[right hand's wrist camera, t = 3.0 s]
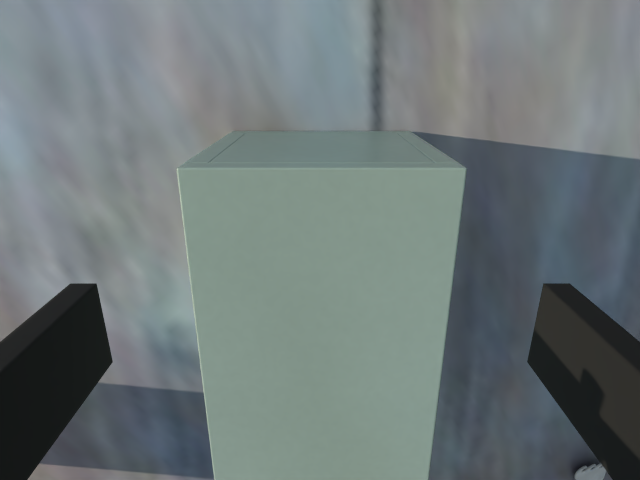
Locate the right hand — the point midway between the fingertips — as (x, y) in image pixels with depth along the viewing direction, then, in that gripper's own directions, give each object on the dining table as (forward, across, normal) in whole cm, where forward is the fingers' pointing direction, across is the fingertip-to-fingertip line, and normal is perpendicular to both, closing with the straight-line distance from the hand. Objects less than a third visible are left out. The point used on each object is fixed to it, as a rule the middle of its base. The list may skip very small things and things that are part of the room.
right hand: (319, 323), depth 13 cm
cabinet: (+16, 0, -7) cm, 18 cm away
